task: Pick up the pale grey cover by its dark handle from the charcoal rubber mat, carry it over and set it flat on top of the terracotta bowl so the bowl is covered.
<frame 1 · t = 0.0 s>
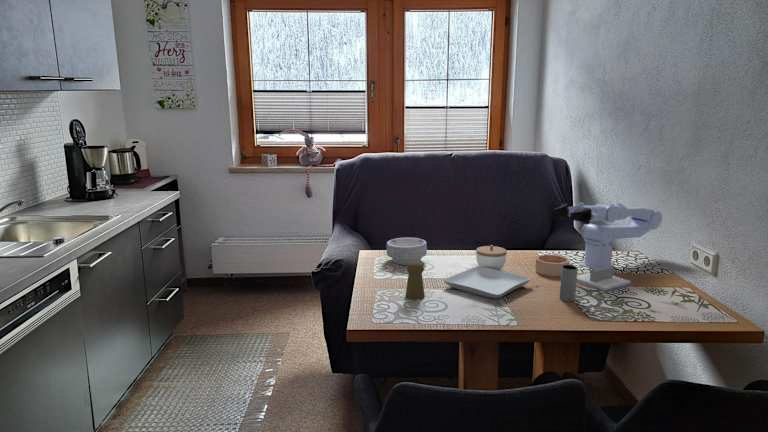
hand: (562, 214, 185), 22 cm above the table, tool horizontal, fingers open, 7 cm apart
bowl: (551, 272, 192), on the table
cover: (601, 281, 182), resting on mat
planter: (567, 299, 167), on the table
salad plate: (486, 288, 178), on the table
mat: (600, 282, 182), on the table
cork: (415, 297, 169), on the table
paper bowls: (406, 262, 206), on the table
lidded jar: (490, 271, 195), on the table
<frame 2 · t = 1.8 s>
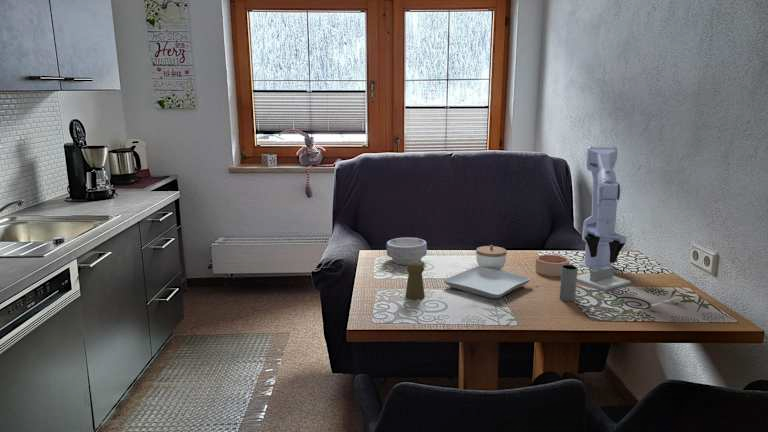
hand: (602, 259, 180), 8 cm above the table, tool pointing down, fingers open, 7 cm apart
nothing on the table moved.
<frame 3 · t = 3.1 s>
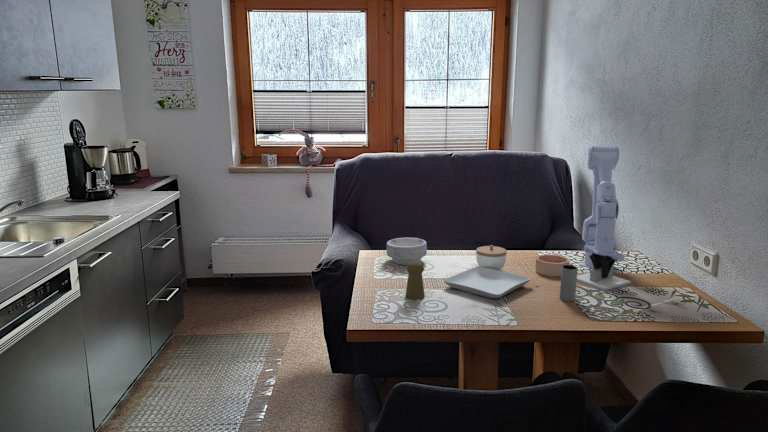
hand: (601, 276, 182), 2 cm above the table, tool pointing down, fingers closed on cover, 2 cm apart
cover: (601, 281, 182), resting on mat, touching gripper
everything else where it was.
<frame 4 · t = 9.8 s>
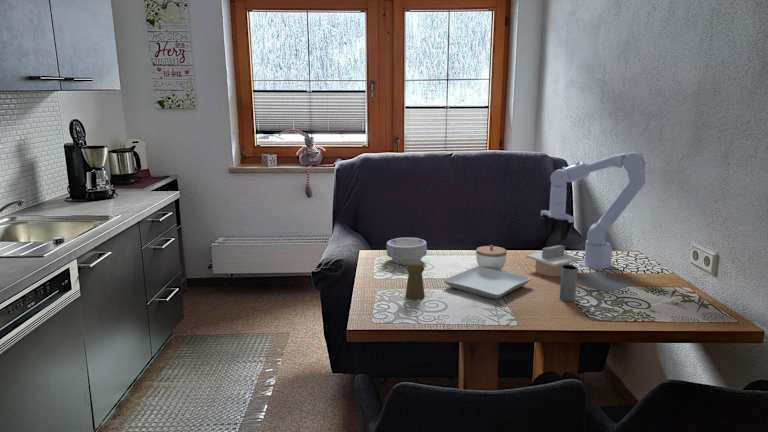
hand: (555, 237, 204), 9 cm above the table, tool pointing down, fingers open, 7 cm apart
cover: (552, 258, 191), point 5 cm above the table, touching bowl
everything else where it was.
at the end: cover 0.2 cm off-centre on the bowl, point 5.0 cm above the bowl's base; cover tilted 0°; the gripper is holding nothing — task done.
